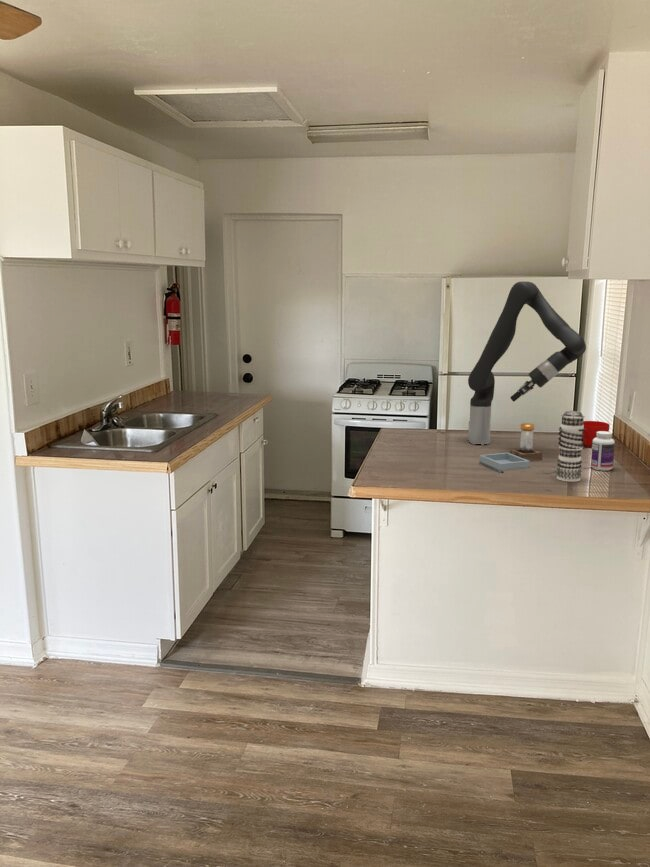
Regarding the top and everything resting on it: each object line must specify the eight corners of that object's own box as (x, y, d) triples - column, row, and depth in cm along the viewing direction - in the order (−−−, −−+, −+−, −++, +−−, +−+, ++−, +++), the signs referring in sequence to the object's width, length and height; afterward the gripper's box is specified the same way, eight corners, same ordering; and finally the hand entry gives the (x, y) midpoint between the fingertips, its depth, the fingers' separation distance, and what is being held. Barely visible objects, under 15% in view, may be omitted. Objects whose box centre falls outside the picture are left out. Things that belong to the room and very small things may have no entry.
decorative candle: (574, 474, 268) (578, 409, 263) (586, 481, 259) (591, 413, 254) (551, 475, 267) (555, 410, 262) (562, 482, 258) (567, 414, 253)
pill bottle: (614, 468, 278) (617, 431, 275) (609, 472, 271) (612, 435, 268) (593, 465, 282) (596, 429, 279) (588, 469, 276) (590, 433, 273)
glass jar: (516, 457, 291) (518, 423, 288) (527, 456, 292) (529, 423, 289) (524, 460, 286) (525, 426, 283) (534, 459, 288) (536, 425, 285)
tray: (479, 463, 285) (479, 455, 284) (507, 460, 289) (507, 452, 289) (500, 472, 271) (501, 464, 270) (529, 469, 276) (529, 461, 275)
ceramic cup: (566, 446, 314) (567, 424, 311) (586, 441, 324) (587, 419, 322) (594, 451, 304) (595, 429, 302) (613, 445, 315) (615, 423, 313)
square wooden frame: (509, 459, 292) (510, 449, 291) (528, 457, 295) (528, 448, 294) (522, 464, 284) (523, 454, 283) (541, 462, 287) (542, 452, 286)
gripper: (536, 367, 295) (505, 392, 299) (538, 365, 281) (505, 393, 285) (548, 380, 294) (517, 406, 298) (550, 380, 281) (518, 407, 284)
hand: (511, 399), depth 291 cm, fingers open, 8 cm apart
